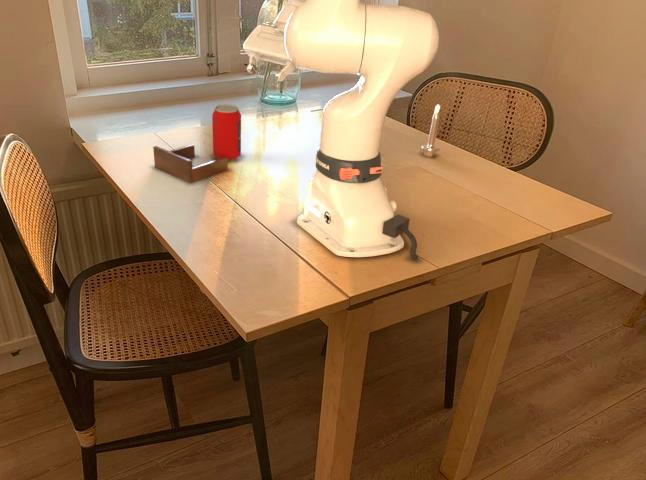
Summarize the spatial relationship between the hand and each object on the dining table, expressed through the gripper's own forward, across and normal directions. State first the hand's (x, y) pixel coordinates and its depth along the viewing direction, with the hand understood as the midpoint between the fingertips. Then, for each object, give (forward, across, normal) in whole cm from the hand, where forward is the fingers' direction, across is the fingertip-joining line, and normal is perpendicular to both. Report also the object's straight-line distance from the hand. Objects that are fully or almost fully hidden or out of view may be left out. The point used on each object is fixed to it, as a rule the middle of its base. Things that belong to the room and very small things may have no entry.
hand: (263, 75), depth 141 cm
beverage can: (+21, 0, +4) cm, 22 cm away
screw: (-6, +34, +32) cm, 47 cm away
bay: (+29, 0, -4) cm, 29 cm away
